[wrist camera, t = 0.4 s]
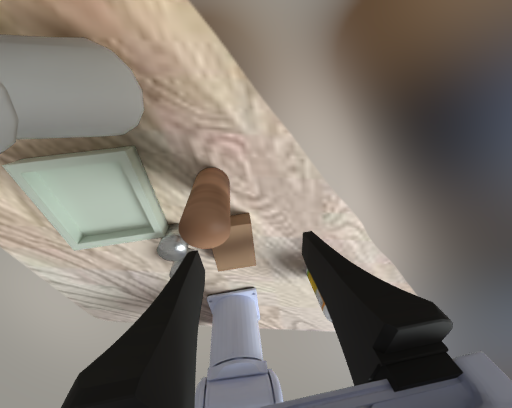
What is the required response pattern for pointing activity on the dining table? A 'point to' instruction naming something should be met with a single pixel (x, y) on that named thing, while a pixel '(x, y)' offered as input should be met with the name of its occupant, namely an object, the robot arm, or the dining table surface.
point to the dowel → (207, 210)
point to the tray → (93, 196)
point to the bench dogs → (173, 247)
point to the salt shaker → (64, 90)
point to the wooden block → (236, 245)
